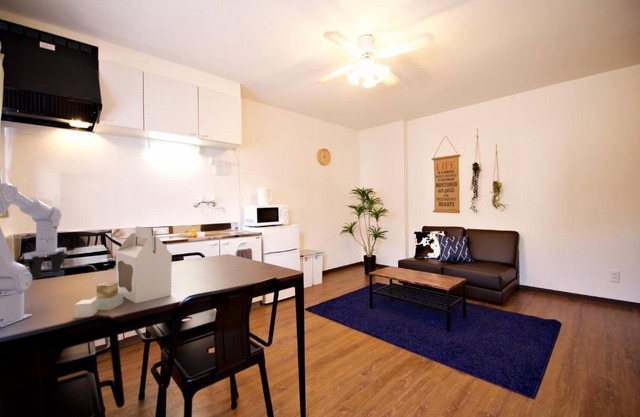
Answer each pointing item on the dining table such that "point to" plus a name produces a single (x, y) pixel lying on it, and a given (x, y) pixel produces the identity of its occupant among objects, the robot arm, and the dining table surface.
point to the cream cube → (86, 308)
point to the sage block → (109, 302)
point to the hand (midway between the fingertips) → (46, 274)
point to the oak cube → (107, 290)
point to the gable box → (143, 267)
